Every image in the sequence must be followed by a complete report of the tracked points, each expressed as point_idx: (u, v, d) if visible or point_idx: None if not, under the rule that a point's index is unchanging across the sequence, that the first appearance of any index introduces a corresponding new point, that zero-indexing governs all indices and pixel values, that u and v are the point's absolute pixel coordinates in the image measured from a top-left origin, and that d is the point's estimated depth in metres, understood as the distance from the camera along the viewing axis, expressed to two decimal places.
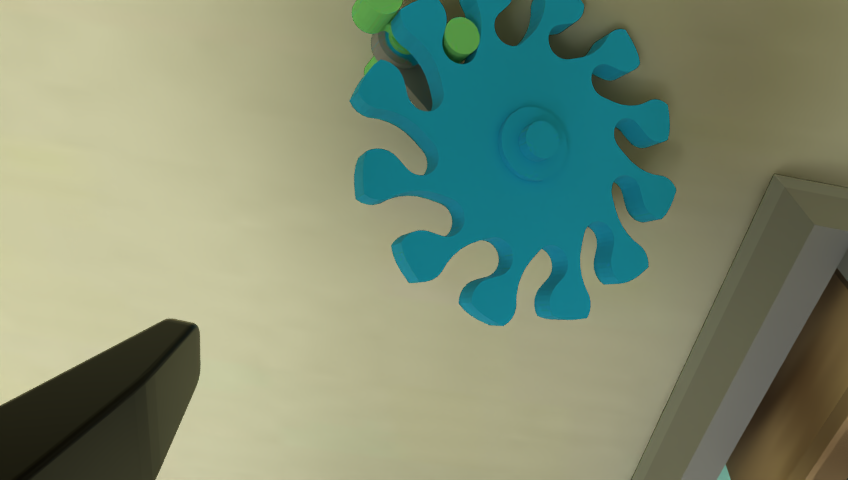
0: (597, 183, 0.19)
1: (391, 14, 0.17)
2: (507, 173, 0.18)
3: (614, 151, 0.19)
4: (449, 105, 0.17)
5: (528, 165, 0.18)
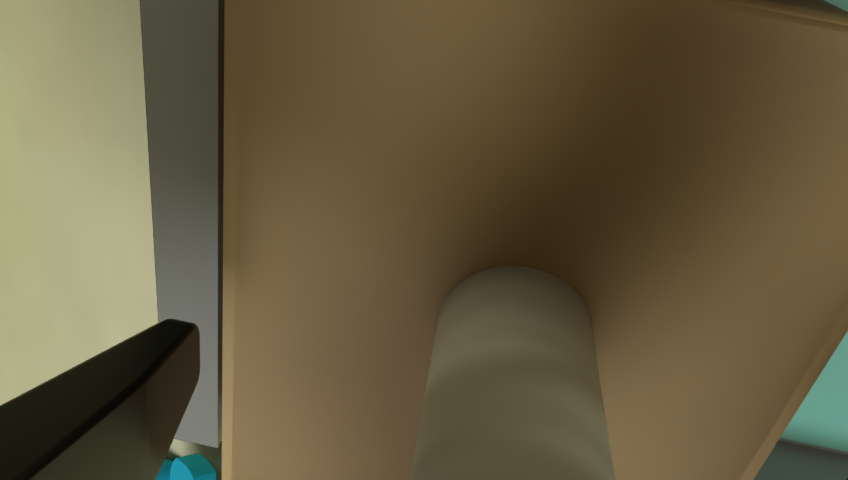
0: None
1: None
2: None
3: None
4: None
5: None
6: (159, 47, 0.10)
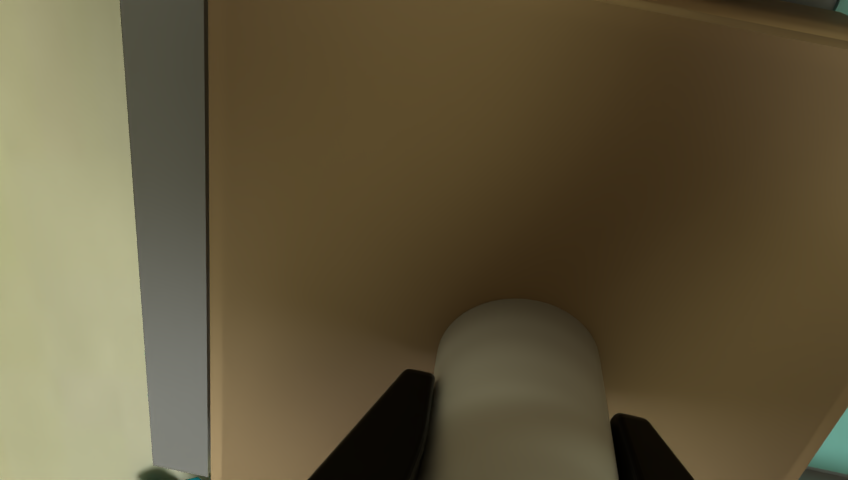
0: None
1: None
2: None
3: None
4: None
5: None
6: (142, 65, 0.10)
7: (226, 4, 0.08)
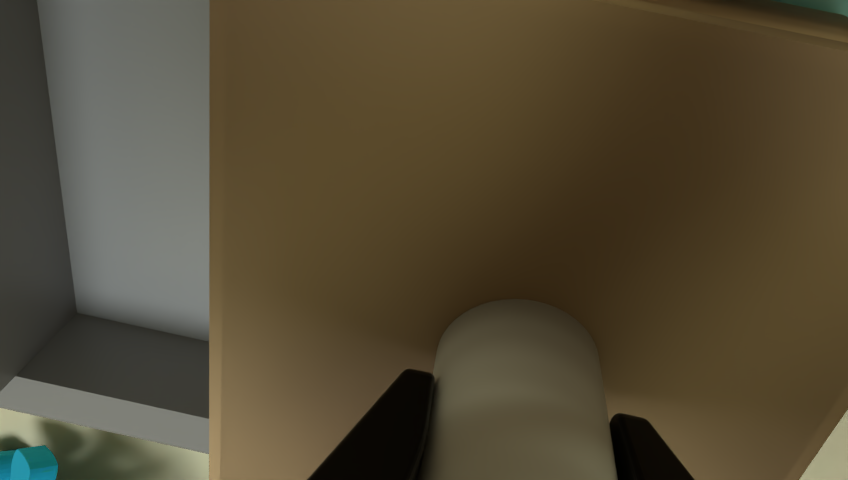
0: None
1: None
2: None
3: None
4: None
5: None
6: None
7: (225, 2, 0.08)
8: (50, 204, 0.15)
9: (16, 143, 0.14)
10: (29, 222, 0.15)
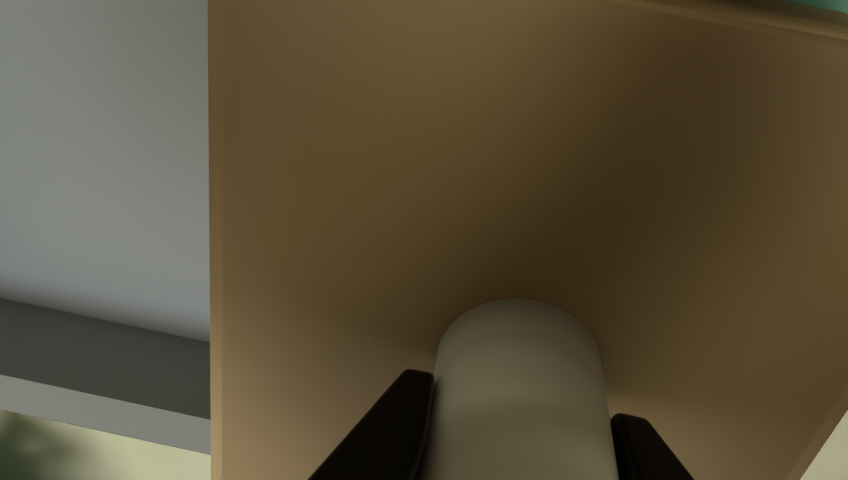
0: None
1: None
2: None
3: None
4: None
5: None
6: None
7: (224, 5, 0.08)
8: None
9: None
10: None
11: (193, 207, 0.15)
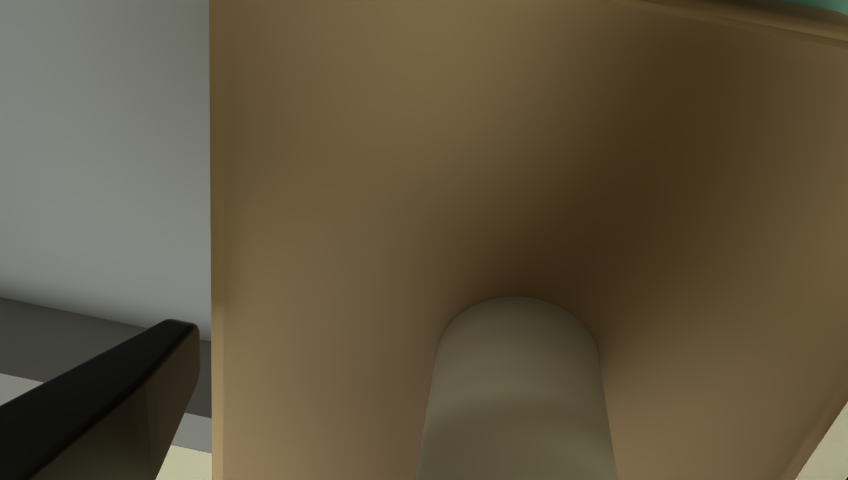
0: None
1: None
2: None
3: None
4: None
5: None
6: None
7: (226, 5, 0.08)
8: None
9: None
10: None
11: (193, 206, 0.16)
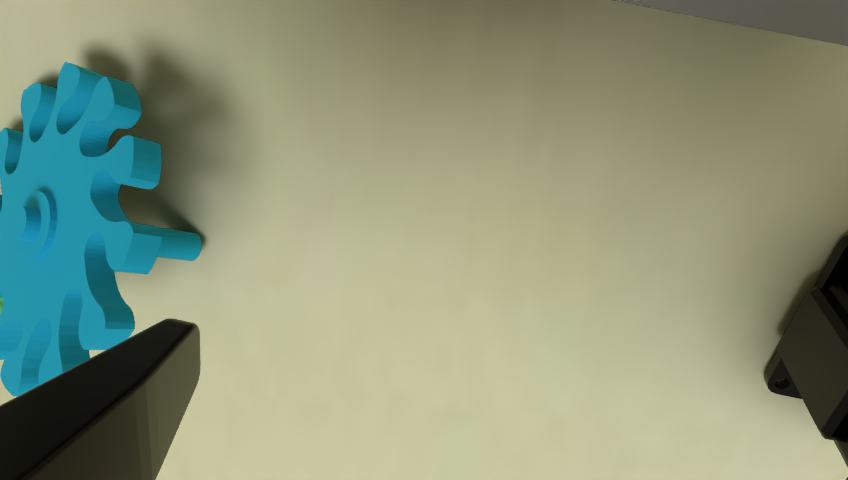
0: (75, 169, 0.19)
1: None
2: (43, 260, 0.19)
3: (66, 139, 0.19)
4: (5, 288, 0.21)
5: (38, 240, 0.19)
6: None
7: None
8: None
9: None
10: None
11: None
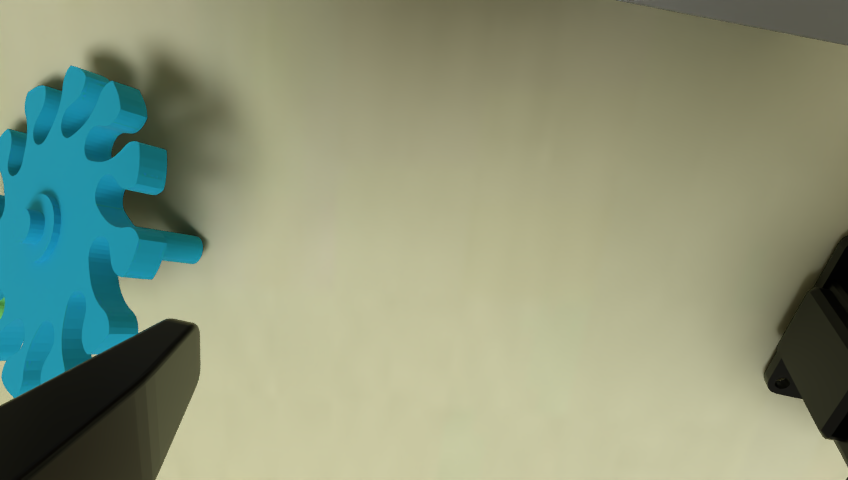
0: (79, 173, 0.19)
1: None
2: (46, 263, 0.19)
3: (71, 142, 0.19)
4: (6, 290, 0.21)
5: (41, 243, 0.19)
6: None
7: None
8: None
9: None
10: None
11: None
